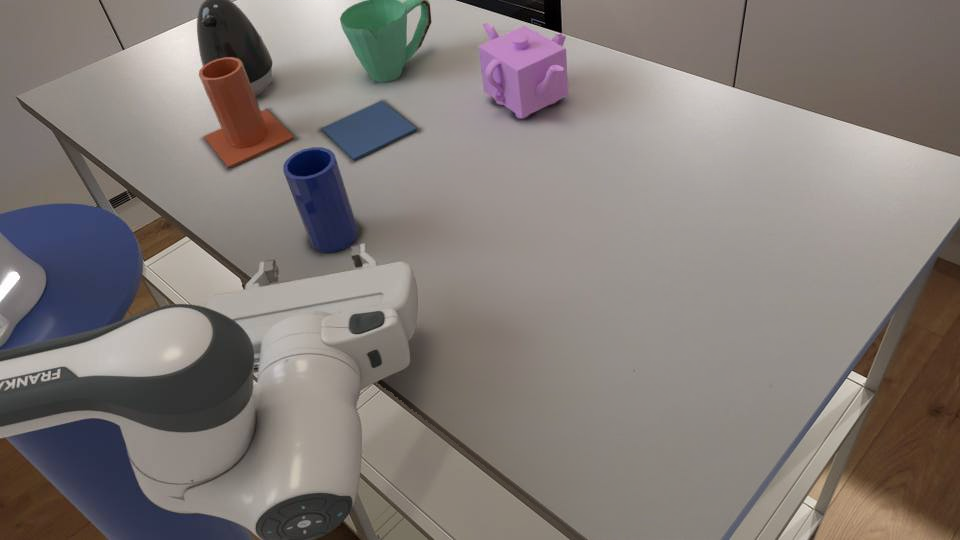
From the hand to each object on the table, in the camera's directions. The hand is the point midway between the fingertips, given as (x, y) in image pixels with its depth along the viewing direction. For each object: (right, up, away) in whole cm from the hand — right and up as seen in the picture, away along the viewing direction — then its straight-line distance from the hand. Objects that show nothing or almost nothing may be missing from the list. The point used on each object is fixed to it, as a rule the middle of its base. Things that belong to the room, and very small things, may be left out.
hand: (314, 256), depth 78 cm
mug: (+4, +30, +41) cm, 51 cm away
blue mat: (+1, +18, +29) cm, 34 cm away
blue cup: (-1, +3, +14) cm, 14 cm away
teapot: (+24, +23, +30) cm, 45 cm away
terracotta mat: (-16, +18, +31) cm, 39 cm away
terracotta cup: (-16, +18, +31) cm, 39 cm away
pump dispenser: (-20, +27, +41) cm, 53 cm away
